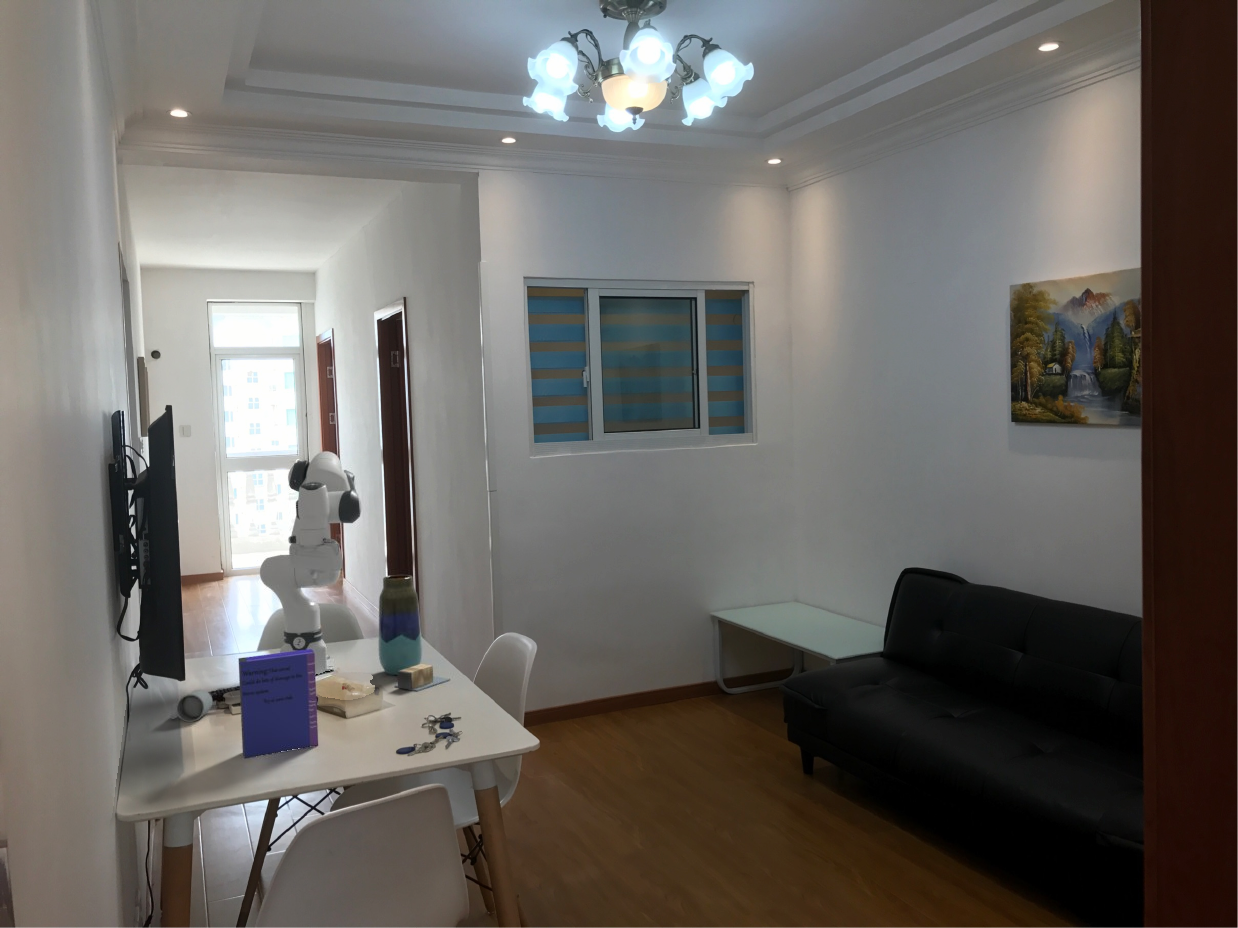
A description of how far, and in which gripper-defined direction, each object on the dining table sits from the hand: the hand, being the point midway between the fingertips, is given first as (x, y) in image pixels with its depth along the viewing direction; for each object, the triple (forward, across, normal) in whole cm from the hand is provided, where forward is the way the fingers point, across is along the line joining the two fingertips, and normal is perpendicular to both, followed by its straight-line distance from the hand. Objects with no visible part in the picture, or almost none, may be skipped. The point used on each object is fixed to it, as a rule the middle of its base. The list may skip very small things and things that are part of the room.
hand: (317, 584), depth 282 cm
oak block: (+31, -15, -19) cm, 39 cm away
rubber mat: (+34, -15, -26) cm, 46 cm away
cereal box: (+34, -28, +34) cm, 56 cm away
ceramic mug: (+34, +17, +31) cm, 50 cm away
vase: (+34, +2, -33) cm, 47 cm away
